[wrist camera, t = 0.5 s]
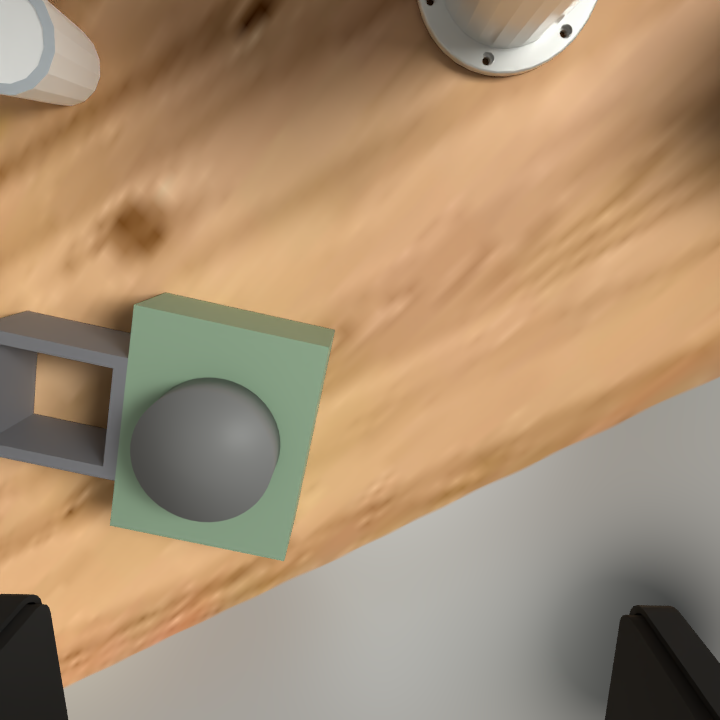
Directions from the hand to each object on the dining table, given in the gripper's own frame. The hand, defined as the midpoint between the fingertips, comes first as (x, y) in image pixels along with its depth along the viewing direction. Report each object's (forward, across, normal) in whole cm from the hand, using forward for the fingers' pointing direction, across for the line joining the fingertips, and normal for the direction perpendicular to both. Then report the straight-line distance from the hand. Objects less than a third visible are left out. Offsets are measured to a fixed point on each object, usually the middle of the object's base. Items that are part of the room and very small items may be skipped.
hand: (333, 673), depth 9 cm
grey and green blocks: (+36, +16, +8) cm, 40 cm away
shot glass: (+36, +22, -18) cm, 46 cm away
